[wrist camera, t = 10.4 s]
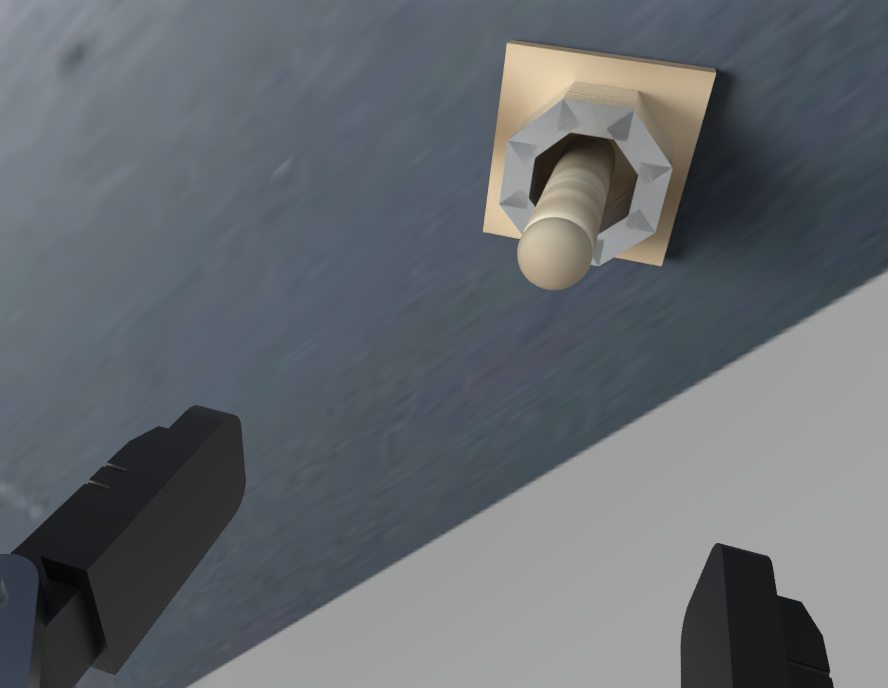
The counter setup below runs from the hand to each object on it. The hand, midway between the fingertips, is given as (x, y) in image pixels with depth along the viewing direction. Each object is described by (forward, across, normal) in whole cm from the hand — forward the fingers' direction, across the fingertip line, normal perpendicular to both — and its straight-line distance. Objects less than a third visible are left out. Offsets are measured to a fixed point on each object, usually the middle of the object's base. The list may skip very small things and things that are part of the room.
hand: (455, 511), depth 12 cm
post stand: (+22, 0, 0) cm, 22 cm away
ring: (+21, 0, 0) cm, 21 cm away
